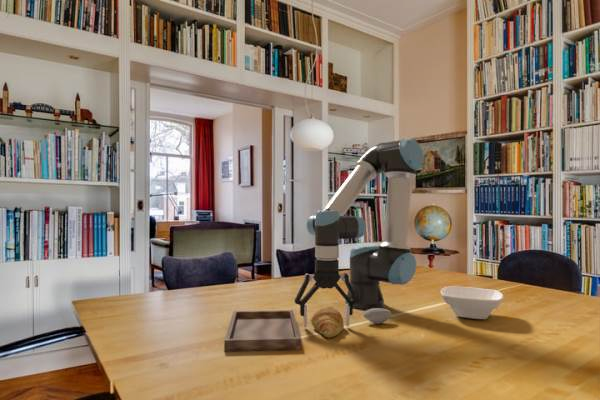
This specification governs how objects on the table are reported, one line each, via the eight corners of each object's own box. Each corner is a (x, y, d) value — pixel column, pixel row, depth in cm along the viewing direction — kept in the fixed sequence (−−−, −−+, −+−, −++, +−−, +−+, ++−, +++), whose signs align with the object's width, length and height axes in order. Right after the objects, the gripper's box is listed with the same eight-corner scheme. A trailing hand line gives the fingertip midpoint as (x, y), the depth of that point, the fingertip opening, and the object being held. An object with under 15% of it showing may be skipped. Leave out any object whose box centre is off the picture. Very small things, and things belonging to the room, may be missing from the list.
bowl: (502, 313, 146) (502, 289, 146) (505, 328, 127) (505, 301, 127) (443, 306, 155) (443, 284, 155) (437, 320, 136) (437, 295, 136)
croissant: (339, 352, 114) (352, 328, 114) (308, 336, 115) (321, 312, 114) (333, 328, 136) (344, 308, 136) (308, 314, 136) (319, 294, 136)
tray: (293, 318, 136) (293, 310, 136) (300, 349, 107) (300, 338, 107) (233, 320, 134) (233, 311, 134) (224, 351, 105) (224, 340, 105)
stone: (388, 320, 135) (388, 305, 135) (394, 325, 130) (394, 309, 130) (360, 321, 134) (360, 306, 134) (366, 326, 128) (366, 310, 128)
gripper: (362, 257, 130) (361, 321, 130) (287, 257, 128) (286, 322, 128) (368, 260, 123) (367, 328, 122) (288, 260, 121) (287, 330, 120)
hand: (326, 325), depth 125 cm, fingers open, 13 cm apart
